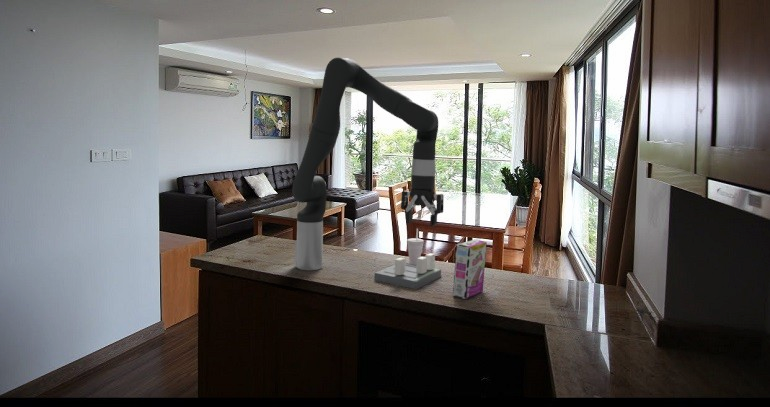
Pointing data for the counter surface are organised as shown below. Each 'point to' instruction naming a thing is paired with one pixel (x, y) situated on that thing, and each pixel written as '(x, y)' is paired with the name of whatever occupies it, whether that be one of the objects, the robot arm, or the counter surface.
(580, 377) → the counter surface
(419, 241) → the smoothie
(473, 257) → the candy bar box
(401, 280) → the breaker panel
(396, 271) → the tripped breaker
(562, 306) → the counter surface
